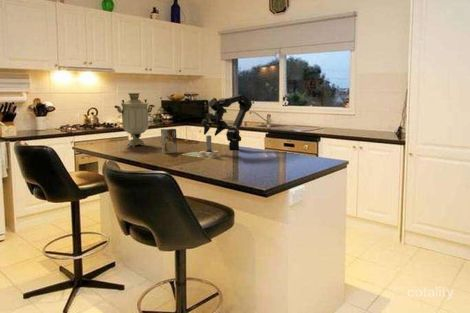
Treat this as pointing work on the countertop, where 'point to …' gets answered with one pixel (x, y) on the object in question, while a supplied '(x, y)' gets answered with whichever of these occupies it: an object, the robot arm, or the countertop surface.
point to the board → (204, 154)
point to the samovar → (135, 117)
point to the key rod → (208, 143)
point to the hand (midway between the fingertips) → (209, 135)
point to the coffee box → (169, 140)
